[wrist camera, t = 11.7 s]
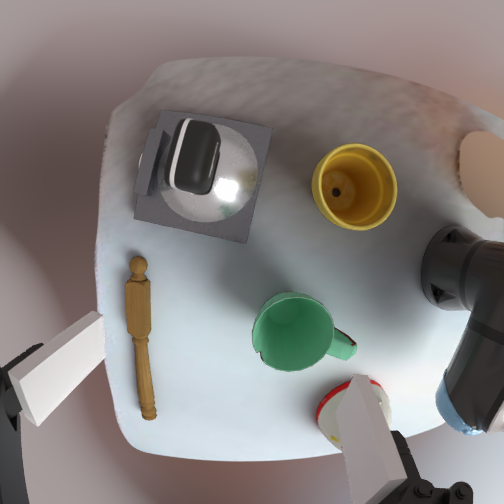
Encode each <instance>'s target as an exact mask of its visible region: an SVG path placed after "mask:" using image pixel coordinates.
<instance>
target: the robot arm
mask: <svg viewBox="0 0 504 504" xmlns="http://www.w3.org/2000/svg"><path fill="white" fill-rule="evenodd" d="M421 278H422V286H423V290H424V293H425V295H426V297H427V298H428V300H429V301H430V302H431V303H432V304H433V305H435V306H437V307H439V308H441V309H443V310H448V311H456V310H469V311H471V315H470V318H469V320H468V323H467V325H466V328H465V330H464V333H463V335H462V338H461V340H460V342H459V345H458V347H457V349H456V351H455V353H454V356H453V358H452V360H451V362H450V364H449V366H448V368H447V369H446V370H445V372H444V374H443V379H442V381H441V383H440V385H439V387H438V389H437V392H436V406H437V409H438V411H439V413H440V415H441V416H442V417H443V419H444V420H445V421H446V422H447V423H448V424H449V425H450V426H451V427H452V428H454V429H455V430H457V431H458V432H460V431H462V432H463V433H464V434H465V435H469V436H473V435H478V434H480V433H481V432H482V431H484V432H486V433H487V434H489V435H490V434H494V433H497V432H500V431H504V243H503V242H496V241H489V240H484V239H483V238H481V237H480V236H478V235H477V234H475V233H474V232H472V231H471V230H469V229H467V228H465V227H460V226H448V227H445V228H443V229H442V230H440V231H439V232H438V233H437V234H436V235H435V236H434V237H433V238H432V240H431V241H430V243H429V245H428V247H427V249H426V252H425V255H424V258H423V263H422V272H421ZM105 357H106V351H105V337H104V315H102V314H99V313H97V312H94V311H92V312H90V313H89V314H87V315H86V316H84V317H83V318H81V319H80V320H78V321H77V322H76V323H74V324H73V325H71V326H70V327H68V328H67V329H66V330H64V331H63V332H61V333H60V334H58V335H57V336H56V337H54V338H53V339H51V340H50V341H49V342H47V343H46V344H45V345H44V344H43V343H40V344H36V345H33V346H32V347H30V348H29V349H27V350H26V352H23V353H22V354H21V355H20V356H18V357H16V358H15V359H13V360H12V361H11V362H9V363H8V364H7V365H5V366H4V367H2V368H1V367H0V504H29V499H28V494H27V489H26V483H25V476H24V469H23V460H22V448H21V431H20V429H21V427H20V414H19V412H20V411H21V410H23V412H24V414H25V416H26V418H27V419H28V420H29V421H31V422H32V423H34V424H35V425H36V426H39V425H40V424H41V423H42V422H43V421H44V420H45V419H46V417H47V416H48V415H49V414H50V413H51V412H52V411H53V410H54V409H55V408H56V407H57V406H58V405H59V404H60V403H61V402H62V401H63V400H64V399H65V398H66V397H67V396H68V394H69V393H70V392H71V391H72V390H73V389H74V388H75V387H76V386H77V385H78V384H79V383H80V382H81V381H82V380H83V379H84V378H85V377H86V376H87V375H88V374H89V373H90V372H91V371H92V370H93V369H94V368H95V367H96V366H97V365H98V364H99V363H100V362H101V361H102V360H103V359H104V358H105ZM335 413H336V418H337V422H338V427H339V432H340V437H341V442H342V447H343V453H344V458H345V464H346V469H347V475H348V480H349V486H350V492H351V499H352V504H473V490H472V488H471V487H470V485H469V484H467V483H465V482H457V483H455V484H453V486H451V487H450V488H449V489H445V488H434V486H433V485H432V483H430V482H429V481H427V480H424V479H421V477H420V475H419V472H418V470H417V467H416V465H415V462H414V459H413V457H412V455H411V452H410V449H409V448H408V445H407V443H406V440H405V438H404V437H403V436H402V434H401V433H400V432H399V431H398V430H397V431H390V429H389V427H388V424H387V421H386V419H385V416H384V414H383V411H382V409H381V407H380V404H379V402H378V399H377V397H376V394H375V392H374V390H373V387H372V385H371V383H370V380H369V378H368V376H366V375H355V374H354V376H353V378H352V380H351V382H350V384H349V387H348V389H347V391H346V393H345V395H344V397H343V399H342V401H341V403H340V404H339V406H338V408H337V410H336V412H335Z"/></svg>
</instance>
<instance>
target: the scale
mask: <svg viewBox="0 0 504 504" xmlns="http://www.w3.org/2000/svg"><path fill="white" fill-rule="evenodd" d="M187 118H191V119H193V120H198V121H205V122H209V123H212V124H213V125H214V126H215V127H216V129H217V130H218V132H219V134H220V138H221V146H220V150H219V151H220V158H219V162H218V167H217V171H216V175H215V179H214V183H213V187H212V190H211V192H210V193H209V194H207V195H191V194H190V193H187V192H182V191H178V190H176V189H174V188H172V187H170V186H168V185H167V184H166V183H165V180H164V171H165V166H166V161H167V157H168V153H169V150H170V146H171V142H172V139H173V135H174V132H175V129H176V126H177V124H178V122H179V121H180V120H181V119H187ZM272 131H273V128H269V127H264V126H260V125H255V124H250V123H246V122H241V121H235V120H230V119H224V118H219V117H213V116H206V115H200V114H193V113H185V112H177V111H168V110H161V113H160V116H159V119H158V122H157V125H156V129H155V128H150V129H149V133H148V136H147V140H146V143H145V147H144V150H143V152H142V154H141V157H140V160H139V166H138V173H137V178H136V182H135V186H134V191H133V193H136V194H138V199H137V204H136V209H135V214H134V219H137V220H141V221H146V222H150V223H155V224H159V225H164V226H168V227H173V228H178V229H182V230H187V231H191V232H196V233H200V234H205V235H209V236H214V237H218V238H223V239H227V240H231V241H236V242H240V243H245V244H246V243H247V238H248V234H249V229H250V225H251V221H252V216H253V212H254V208H255V203H256V199H257V195H258V190H259V186H260V182H261V177H262V173H263V169H264V165H265V160H266V156H267V152H268V148H269V143H270V139H271V135H272Z"/></svg>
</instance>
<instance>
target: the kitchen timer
mask: <svg viewBox="0 0 504 504" xmlns="http://www.w3.org/2000/svg"><path fill="white" fill-rule="evenodd" d="M350 382H351V381H350ZM350 382H346V383H344V384H342V385H340V386H338V387H336V388H335V389H334V390H332V391H331V392H330V393H329V394H327V395H326V396H325V398H324V399H323V400H322V401H321V403H320V405H319V407H318V409H317V414H316V419H317V422H318V425H319V428H320V430H321V432H322V434H323V435H324V436H325V437H326V438H327V439H328V440H329V441H330V442H331V443H332V444H333V445H334V446H335V447H336V448H338V449H339V450H341V451H342V452H343V447H342V442H341V437H340V432H339V427H338V422H337V418H336V413H335V412H336V410H337V408H338V406H339V404H340V403H341V401H342V399H343V397H344V395H345V393H346V391H347V389H348V387H349V384H350ZM370 383H371V385H372V387H373V390H374V392H375V394H376V397H377V399H378V402H379V404H380V407H381V409H382V411H383V414H384V416H385V419H386V421H387V424H388V427H389V429H390V428H391V423H392V415H391V408H390V403H389V399H388V396H387V394H386V393H385V391H384V390H383V388H382V387H381V386H380V384H378V383H377V382H375V381H373V380H370Z"/></svg>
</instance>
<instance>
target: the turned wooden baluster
mask: <svg viewBox="0 0 504 504" xmlns="http://www.w3.org/2000/svg"><path fill="white" fill-rule="evenodd" d="M129 268H130V270H131V272H133V275H132V276H131V277H130V279H129V280H128V281H127V282H126V284H125V296H126V317H127V331H128V333H129V334H131V335H132V336H134V337H133V338H132V341H133V343H135V361H136V374H137V386H138V396H139V399H140V401H139V402H140V405H141V406H142V407H141V412H142V417H143V418H144V419H145V420H154V419H155V418H156V416H157V414H156V409H155V406H154V404H155V401H154V392H153V385H152V379H151V372H150V364H149V356H148V348H147V343H148V342H149V339H148V337H147V336H148V335H149V333H150V331H151V305H150V281H149V280H148V279H146V276H145V275H144V274H143V273H144V272H145V271H146V269H147V261H146V260H145V259H144V258H143V257H140V256H137V257H133V258H132V259H131V261H130V263H129ZM145 279H146V281H144V280H145ZM132 280H133V281H132ZM136 281H142V282H136Z"/></svg>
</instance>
